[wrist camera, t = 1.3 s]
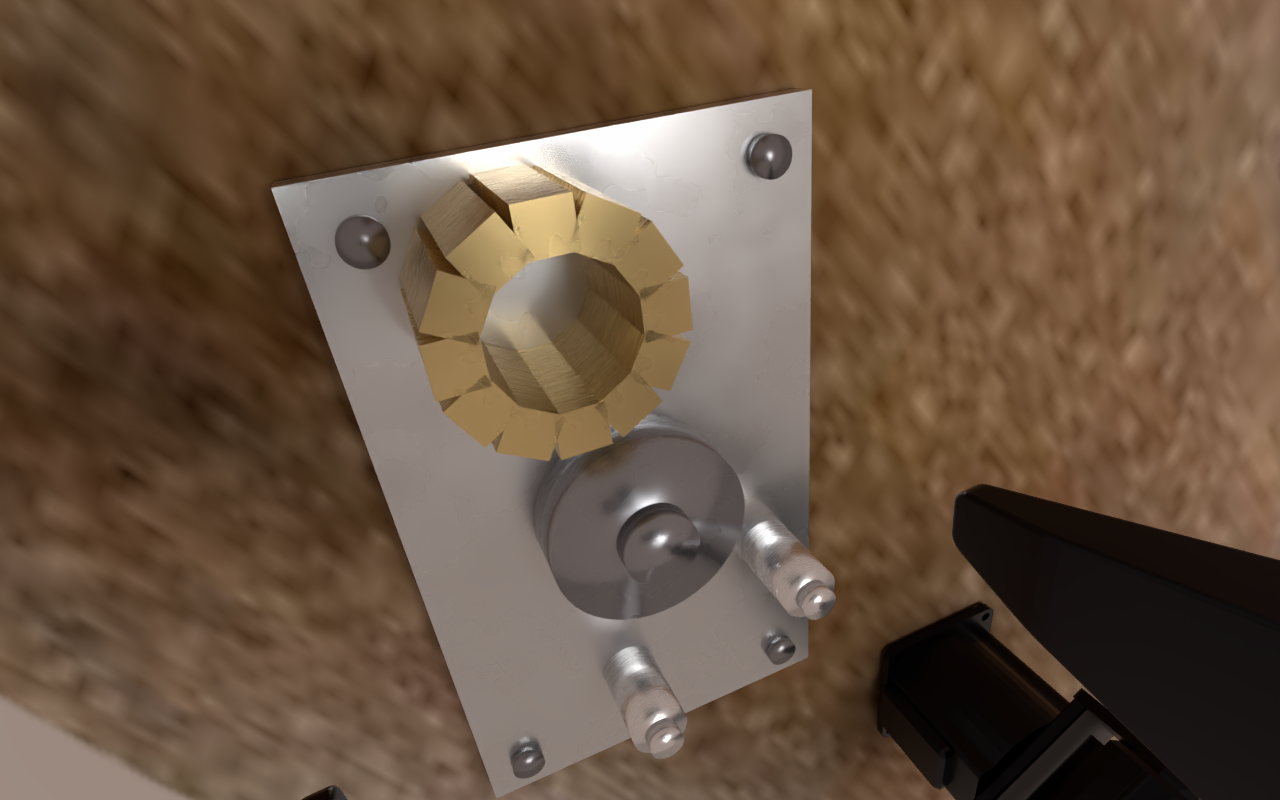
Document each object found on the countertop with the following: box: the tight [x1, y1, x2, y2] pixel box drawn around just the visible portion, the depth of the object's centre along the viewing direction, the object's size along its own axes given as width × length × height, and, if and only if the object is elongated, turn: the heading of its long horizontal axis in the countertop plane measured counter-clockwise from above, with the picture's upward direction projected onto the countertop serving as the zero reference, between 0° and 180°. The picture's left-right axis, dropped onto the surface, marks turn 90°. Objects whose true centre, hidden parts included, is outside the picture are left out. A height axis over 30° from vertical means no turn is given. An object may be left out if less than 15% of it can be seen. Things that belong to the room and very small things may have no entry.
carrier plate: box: [271, 88, 836, 798], centre depth 22 cm, size 14×23×4 cm, turn 7°
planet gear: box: [400, 164, 693, 461], centre depth 17 cm, size 6×6×4 cm
